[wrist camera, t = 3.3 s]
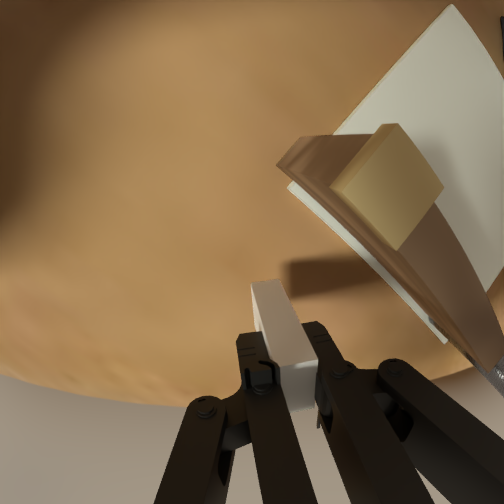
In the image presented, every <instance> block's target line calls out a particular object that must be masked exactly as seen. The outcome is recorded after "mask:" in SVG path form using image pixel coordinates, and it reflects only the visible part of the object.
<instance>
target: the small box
mask: <svg viewBox="0 0 504 504" xmlns="http://www.w3.org/2000/svg"><path fill="white" fill-rule="evenodd" d="M501 23H502V33H503V54H504V16H503V17H501Z"/></svg>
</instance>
